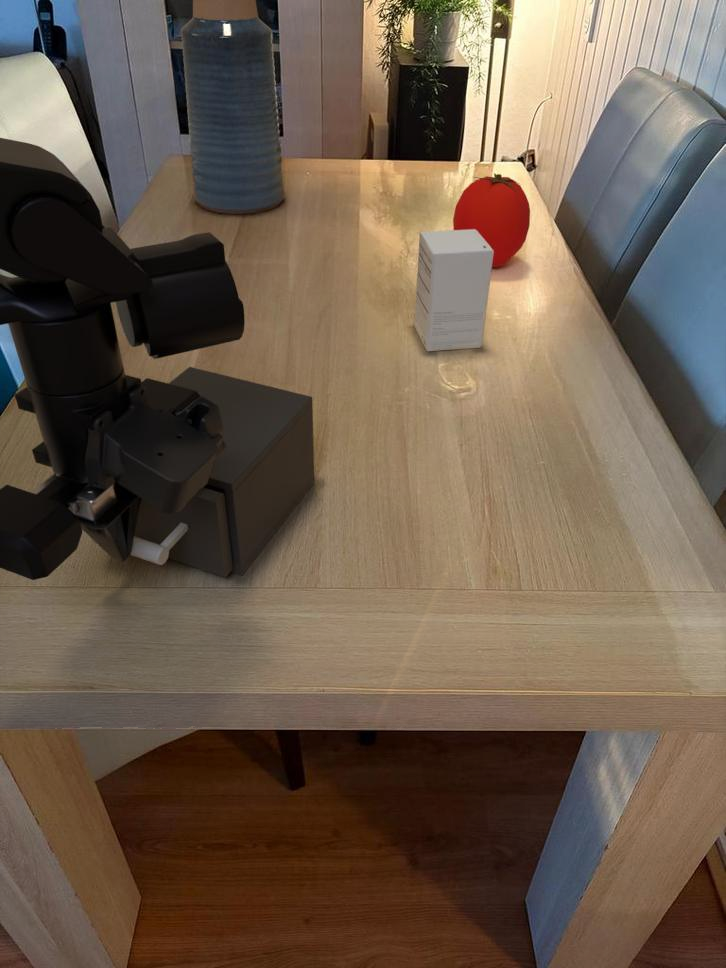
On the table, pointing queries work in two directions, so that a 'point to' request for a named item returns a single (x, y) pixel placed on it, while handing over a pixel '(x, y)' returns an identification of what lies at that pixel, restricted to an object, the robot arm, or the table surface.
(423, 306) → the white packaging box
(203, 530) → the drawer
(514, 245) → the tomato
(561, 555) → the table surface
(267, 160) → the vase
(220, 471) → the cabinet casing
